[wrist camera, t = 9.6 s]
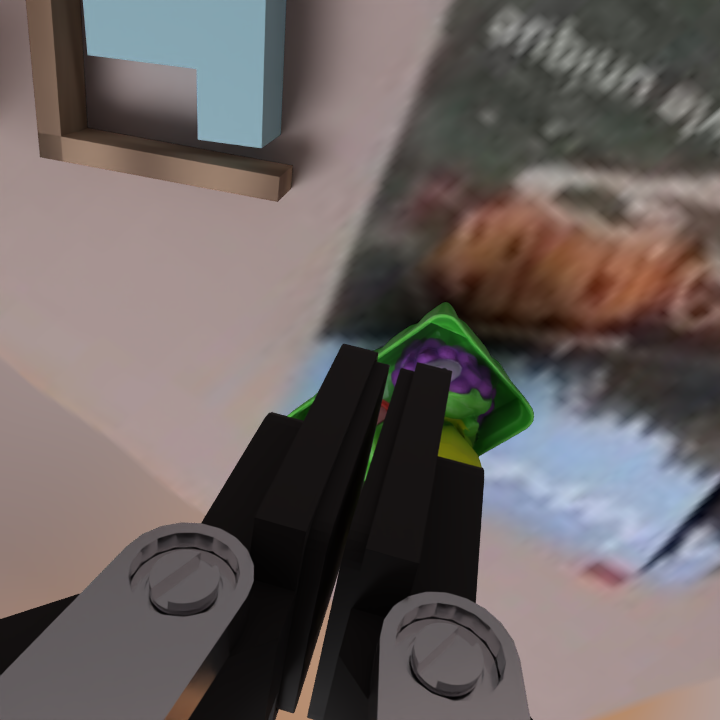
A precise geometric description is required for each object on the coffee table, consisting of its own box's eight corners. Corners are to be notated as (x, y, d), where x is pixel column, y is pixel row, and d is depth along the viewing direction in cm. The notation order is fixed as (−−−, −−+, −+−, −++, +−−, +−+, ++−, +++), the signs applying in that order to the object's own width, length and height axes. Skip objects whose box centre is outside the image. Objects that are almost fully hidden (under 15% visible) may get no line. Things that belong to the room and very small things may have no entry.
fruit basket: (450, 267, 36) (436, 371, 26) (548, 387, 38) (569, 523, 28) (297, 378, 40) (236, 501, 31) (392, 478, 43) (363, 622, 33)
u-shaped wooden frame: (321, -156, 28) (307, -169, 26) (290, 188, 35) (277, 201, 33) (42, -196, 29) (6, -212, 27) (67, 147, 36) (40, 157, 34)
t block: (289, -80, 30) (268, -88, 26) (280, 134, 34) (261, 148, 31) (114, -98, 30) (73, -109, 27) (127, 113, 35) (93, 125, 32)
